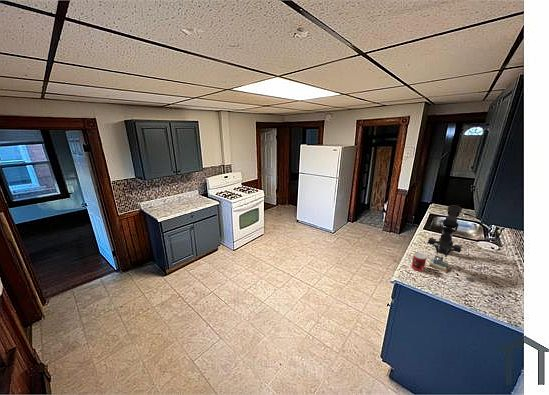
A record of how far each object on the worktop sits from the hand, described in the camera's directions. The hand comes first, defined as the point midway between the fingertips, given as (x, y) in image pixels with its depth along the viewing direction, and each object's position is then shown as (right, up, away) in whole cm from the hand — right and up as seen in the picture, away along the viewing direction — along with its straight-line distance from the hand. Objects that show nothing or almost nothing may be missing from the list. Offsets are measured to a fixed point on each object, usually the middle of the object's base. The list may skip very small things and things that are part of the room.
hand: (441, 254), depth 158 cm
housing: (-1, -6, +3) cm, 7 cm away
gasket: (+11, -14, -11) cm, 21 cm away
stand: (0, -9, +3) cm, 10 cm away
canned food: (-17, -10, +1) cm, 20 cm away
